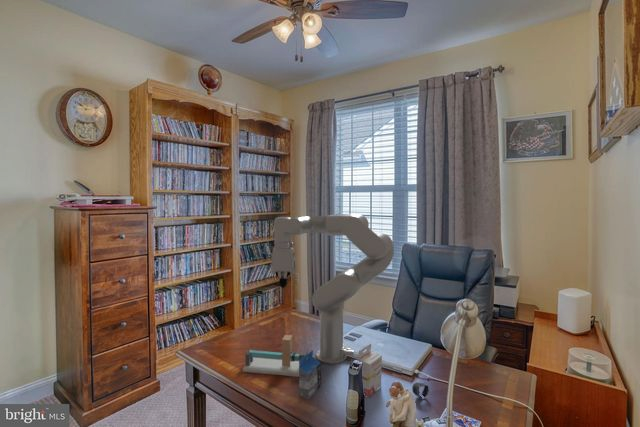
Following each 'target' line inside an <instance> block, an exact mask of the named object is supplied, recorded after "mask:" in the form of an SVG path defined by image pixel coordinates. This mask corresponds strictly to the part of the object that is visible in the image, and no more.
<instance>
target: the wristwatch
mask: <svg viewBox="0 0 640 427" xmlns="http://www.w3.org/2000/svg"><path fill="white" fill-rule="evenodd" d="M421 387H424V388H423V390H422V392H420V388H421ZM429 392H430V389H429V385H427V384H426V383H424V382H415V383H414V384H413V385H412V393H413V394H414V395H415V396H417V398H419V399H422V397H421V396H420V395H423V396H424V397H425V398H426V397H427V396H428V394H429Z"/></svg>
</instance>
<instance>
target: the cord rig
mask: <svg viewBox="0 0 640 427" xmlns="http://www.w3.org/2000/svg"><path fill="white" fill-rule="evenodd" d="M308 353H309V352H308V350H303V349H301V350H300V352H299V353H297V352H293V354H290V360H292V362H290V367H289V366H282V352H277V351H267V350H266V351H265V350H254V349H248V352H247V353H245V354H244V355H245V365H244V366H243V368H242V372H247V373H256V374H266V375H276V376H288V377H299V361H300V360H301V359H302V358H303V357H305V356H306V355H307V354H308ZM307 359H308V358H306V359H305V360H304V361H306V360H307Z"/></svg>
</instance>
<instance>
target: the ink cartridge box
mask: <svg viewBox="0 0 640 427" xmlns="http://www.w3.org/2000/svg"><path fill="white" fill-rule="evenodd" d="M371 349H372V343H369V344H367V345H366V346H364V347H363V348H362V349H359V350H358V356H357V362H358V361H359V362H362V363H363V367H362V380H363V388H364V394H365V396H367V397H369V396H370V395H372V394H373V393H374V392H375V391H376V390H377V389H378V388H379V387H381V388H382V368H383V367H382V366H383V365H382V361H383V354H380V353H377V352H373V351H371ZM377 391H378V390H377ZM377 391H376V392H377ZM376 392H375V393H376ZM375 393H374V394H375ZM374 394H373V395H374ZM373 395H372V396H373ZM365 396H364V397H365ZM367 397H366V398H367ZM369 398H370V397H369Z"/></svg>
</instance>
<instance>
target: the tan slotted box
mask: <svg viewBox="0 0 640 427" xmlns="http://www.w3.org/2000/svg"><path fill="white" fill-rule="evenodd" d="M293 338H294V336H293V334H291V335H290V334H285V335H284V336H283V338H282V340H281V353H282V359H281V360H282V366H289V367H290V362H292V360H290V354H293V353H294V352H293V349H294V348H293V344H294V340H293Z"/></svg>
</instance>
